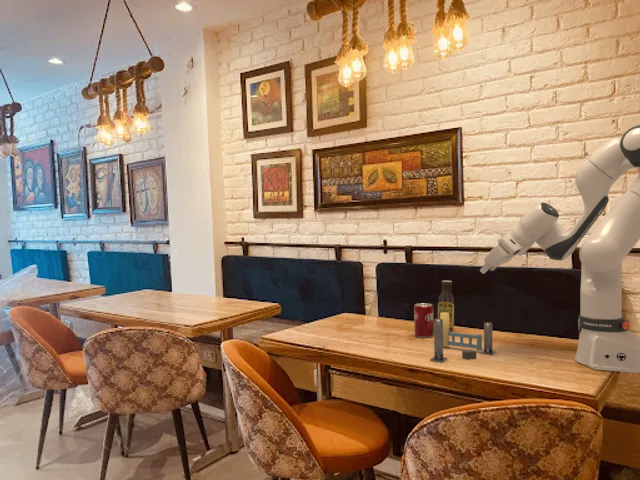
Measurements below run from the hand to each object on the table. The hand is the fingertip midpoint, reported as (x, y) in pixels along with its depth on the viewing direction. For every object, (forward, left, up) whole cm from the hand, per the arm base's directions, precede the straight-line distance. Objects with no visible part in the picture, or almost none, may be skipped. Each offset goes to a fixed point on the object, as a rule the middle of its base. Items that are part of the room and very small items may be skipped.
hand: (486, 270), depth 179 cm
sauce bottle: (+20, -14, -26) cm, 36 cm away
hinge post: (-4, +10, -26) cm, 28 cm away
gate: (+6, +10, -26) cm, 28 cm away
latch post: (+7, +26, -26) cm, 37 cm away
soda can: (+24, -2, -26) cm, 36 cm away
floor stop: (0, +19, -26) cm, 32 cm away
